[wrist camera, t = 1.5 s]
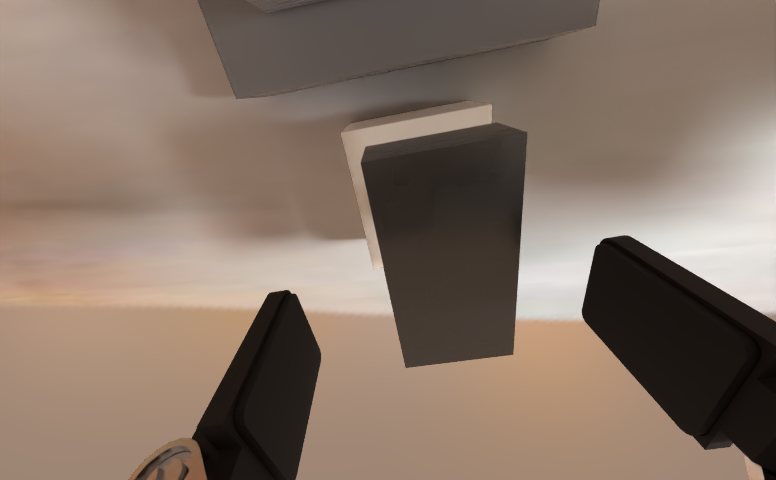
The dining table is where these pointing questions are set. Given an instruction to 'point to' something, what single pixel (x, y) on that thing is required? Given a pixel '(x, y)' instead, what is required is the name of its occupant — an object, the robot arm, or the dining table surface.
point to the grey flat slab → (372, 36)
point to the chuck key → (450, 238)
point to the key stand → (400, 129)
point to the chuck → (279, 4)
